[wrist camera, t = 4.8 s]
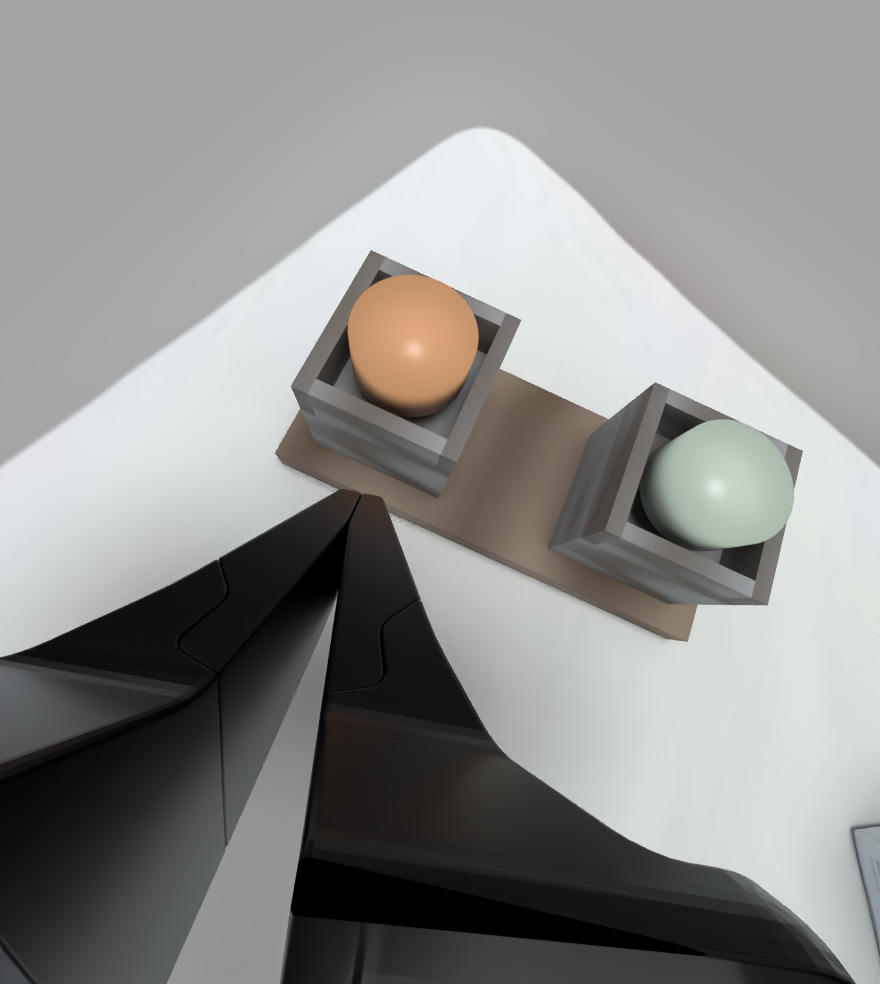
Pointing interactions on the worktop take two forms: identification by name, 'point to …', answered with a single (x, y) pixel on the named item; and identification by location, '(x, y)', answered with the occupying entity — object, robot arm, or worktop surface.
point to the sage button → (717, 487)
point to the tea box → (870, 869)
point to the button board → (524, 475)
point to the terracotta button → (411, 344)
